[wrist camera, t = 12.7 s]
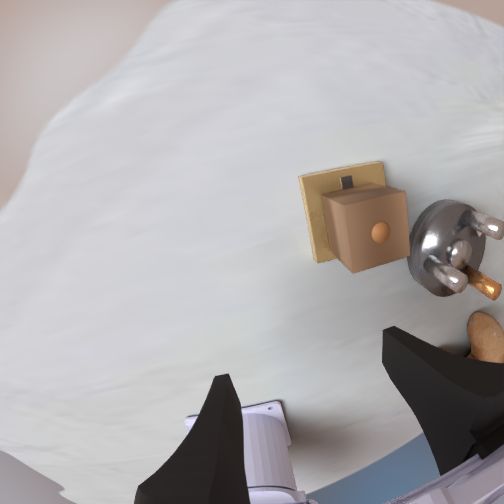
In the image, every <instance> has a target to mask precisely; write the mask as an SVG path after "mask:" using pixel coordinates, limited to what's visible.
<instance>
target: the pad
mask: <svg viewBox="0 0 504 504" xmlns="http://www.w3.org/2000/svg"><path fill="white" fill-rule="evenodd" d="M298 178H299V183H300V188H301V193H302V198H303V203H304V208H305V213H306V219H307V224H308V230H309V235H310V241H311V246H312V252H313V258H314V260H315V261H316V262H317V263H321V262H325V261H329V260H332V259H336V258H337V257H336V256H335V255H333V254H332V253H331V251H330V245H329V239H328V232H327V227H326V221H325V215H324V209H323V204H322V198H321V195H323V194H327V193H331V192H336V191H340V190H345V189H350V188H354V187H359V186H363V185H368V184H373V183H375V184H379V185H383V186H386V182H385V175H384V168H383V162H370V163H364V164H359V165H353V166H348V167H342V168H337V169H332V170H327V171H322V172H317V173H312V174H307V175H303V176H298Z"/></svg>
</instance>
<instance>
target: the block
mask: <svg viewBox="0 0 504 504" xmlns="http://www.w3.org/2000/svg"><path fill="white" fill-rule="evenodd" d="M321 198H322V204H323V209H324V215H325V221H326V227H327V232H328V239H329V245H330V251H331V253H332V254H333V255H335V256H336V257H337V258H338V259H339V260H340V261H341V262H342V263H343V264H344V265H345V266H346V267H347V268H348V269H349V270H350V271H351V272H352V273H357V272H360V271H363V270H366V269H370V268H373V267H376V266H379V265H383V264H386V263H389V262H392V261H395V260H399V259H402V258H405V257H408V256H410V243H409V227H408V214H407V203H406V194H405V191H402V190H398V189H395V188H391V187H387V186H383V185H379V184H375V183H373V184H368V185H363V186H359V187H354V188H350V189H345V190H340V191H336V192H331V193H327V194H323V195H321Z"/></svg>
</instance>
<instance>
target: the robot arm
mask: <svg viewBox="0 0 504 504" xmlns="http://www.w3.org/2000/svg"><path fill="white" fill-rule="evenodd" d="M382 363H383V365H384V367H385V369H386V371H387V373H388V375H389V377H390V379H391V380H392V382H393V383H394V385H395V386H396V388H397V389H398V390H399V392H400V393H401V395H402V396H403V398H404V399H405V401H406V402H407V403H408V405H409V406H410V408H411V409H412V411H413V412H414V414H415V416H416V417H417V419H418V421H419V423H420V425H421V427H422V429H423V432H424V434H425V436H426V438H427V440H428V443H429V445H430V447H431V450H432V453H433V455H434V457H435V460H436V463H437V466H438V469H439V472H440V477H438V478H437V479H435V480H433V481H431V482H429V483H427V484H425V485H423V486H421V487H419V488H417V489H415V490H413V491H411V492H409V493H407V494H405V495H402V496H400V497H398V498H396V499H393V500H391V501H389V502H386V503H384V504H491V503H493V502H494V501H495V500H497V499H498V498H499V497H500V496H502V495H503V494H504V363H496V362H487V361H480V360H475V359H471V358H467V357H463V356H460V355H456V354H453V353H450V352H448V351H445V350H443V349H440V348H438V347H435V346H433V345H431V344H429V343H427V342H425V341H423V340H421V339H419V338H417V337H415V336H413V335H411V334H409V333H407V332H405V331H403V330H401V329H399V328H397V327H395V326H392V327H390V328H387V329H384V330H383V348H382ZM184 422H185V424H186V426H187V434H186V437H185V439H184V440H183V442H182V443H181V444H180V446H179V447H178V448H177V450H176V451H175V452H174V453H173V455H172V456H171V457H170V458H169V459H168V460H167V461H166V462H165V463H164V464H163V465H162V466H161V467H160V468H159V469H158V470H157V471H156V472H155V473H154V474H153V475H152V476H150V477H149V478H148V479H147V480H145V481H144V482H143V483H142V484H140V485H139V486H138V488H137V492H136V495H135V501H134V504H318V503H317V502H316V501H314V500H306V496H305V492H304V491H297V487H296V483H295V478H294V474H293V469H292V465H291V461H290V456H289V452H288V447H287V446H290V445H291V444H292V442H291V439H290V435H289V432H288V428H287V425H286V421H285V417H284V414H283V410H282V407H281V403H280V402H279V401H274V402H270V403H265V404H261V405H256V406H251V407H246V408H241V404H240V401H239V398H238V396H237V393H236V391H235V388H234V386H233V383H232V381H231V378H230V376H229V374H224V375H219V376H215V377H214V379H213V382H212V385H211V388H210V390H209V393H208V395H207V398H206V400H205V402H204V405H203V407H202V409H201V411H200V413H199V415H198V416H193V417H187V418H185V421H184Z"/></svg>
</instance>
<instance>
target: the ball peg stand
mask: <svg viewBox="0 0 504 504" xmlns="http://www.w3.org/2000/svg"><path fill="white" fill-rule="evenodd" d="M485 234H486V235H488V236H490V237H493V238H495V239H497V240H501V239H502V238H503V236H504V222H503V221H501V220H498V219H495V218H492V217H490V216H487V215H484V214H481V213H478V212H477V211H476V210H475V209H474V208H473V207H471V206H469V205H466V204H463V203H460V202H456V201H453V200H440V201H437V202H435V203H433V204H432V205H430V206H429V207H428V208H426V209H425V211H424V212H423V213H422V214H421V215H420V217H419V218H418V220H417V221H416V223H415V225H414V227H413V229H412V232H411V235H410V238H409V243H410V256H408V257H407V260H408V266H409V270H410V272H411V274H412V276H413V278H414V279H415V280H416V281H417V282H418V283H419V284H421V285H422V286H423V287H424V288H426V289H427V290H428V291H430V292H431V293H432V294H434V295H436V296H441V297H445V296H450V295H453V294H455V293H461V292H462V291H463V290H464V289H465V288H466V286H467V284H470V285H471V286H473V287H474V288H476V289H477V290H479V291H480V292H482V293H483V294H485V295H486V296H487V297H489V298H490V299H492V300H496V299H497V298H498V297H499V295H500V293H501V290H502V286H501V284H499V283H497V282H496V281H494V280H492V279H491V278H489V277H487V276H486V275H484V274H482V273H481V272H479V271H477V270H478V268H479V266H480V263H481V261H482V258H483V254H484V250H485V239H486V238H485Z"/></svg>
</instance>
